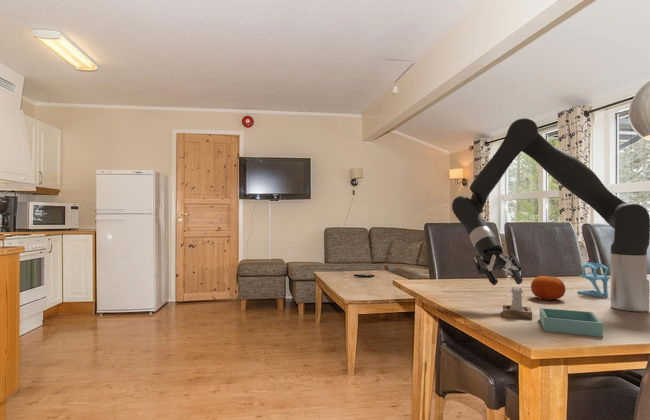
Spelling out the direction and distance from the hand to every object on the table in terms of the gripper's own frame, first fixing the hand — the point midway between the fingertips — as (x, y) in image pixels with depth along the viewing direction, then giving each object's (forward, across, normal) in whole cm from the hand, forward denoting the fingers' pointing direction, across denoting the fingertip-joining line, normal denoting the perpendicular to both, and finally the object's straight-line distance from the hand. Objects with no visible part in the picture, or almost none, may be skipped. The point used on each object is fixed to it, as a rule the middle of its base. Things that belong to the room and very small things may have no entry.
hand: (508, 283), depth 125 cm
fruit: (-4, +26, +16) cm, 31 cm away
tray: (+19, +4, -7) cm, 21 cm away
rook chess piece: (+9, 0, +4) cm, 10 cm away
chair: (-6, +50, +18) cm, 53 cm away
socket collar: (+9, 0, +3) cm, 10 cm away
